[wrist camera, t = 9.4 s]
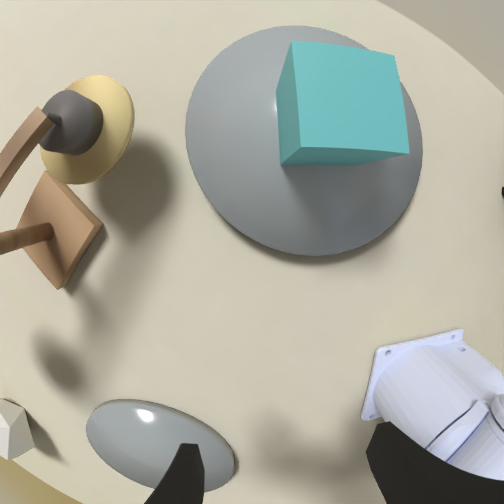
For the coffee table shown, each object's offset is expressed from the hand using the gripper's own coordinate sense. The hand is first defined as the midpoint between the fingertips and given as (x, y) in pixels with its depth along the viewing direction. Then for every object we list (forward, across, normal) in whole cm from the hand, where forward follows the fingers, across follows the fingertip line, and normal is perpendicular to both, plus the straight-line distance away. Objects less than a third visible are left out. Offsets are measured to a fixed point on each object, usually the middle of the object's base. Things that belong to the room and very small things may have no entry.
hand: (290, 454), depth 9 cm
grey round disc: (+10, +10, +14) cm, 20 cm away
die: (+11, +31, +14) cm, 36 cm away
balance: (+10, +15, -8) cm, 20 cm away
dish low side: (+10, -3, -13) cm, 17 cm away
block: (+9, -3, -14) cm, 16 cm away
